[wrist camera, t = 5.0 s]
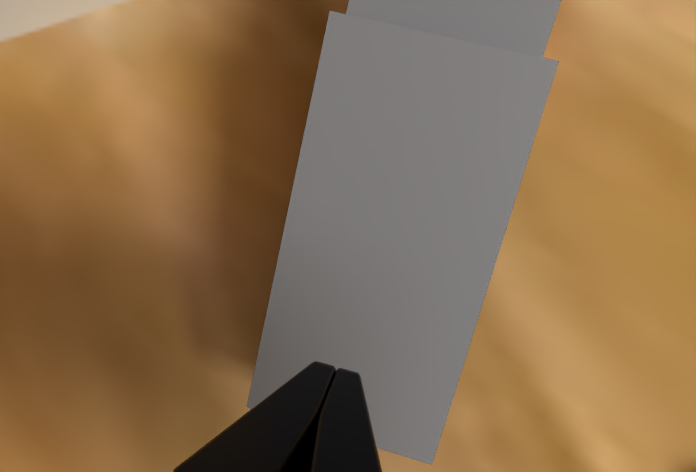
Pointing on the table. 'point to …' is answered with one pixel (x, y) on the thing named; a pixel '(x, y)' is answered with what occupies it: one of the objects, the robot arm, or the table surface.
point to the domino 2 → (399, 217)
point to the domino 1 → (470, 20)
